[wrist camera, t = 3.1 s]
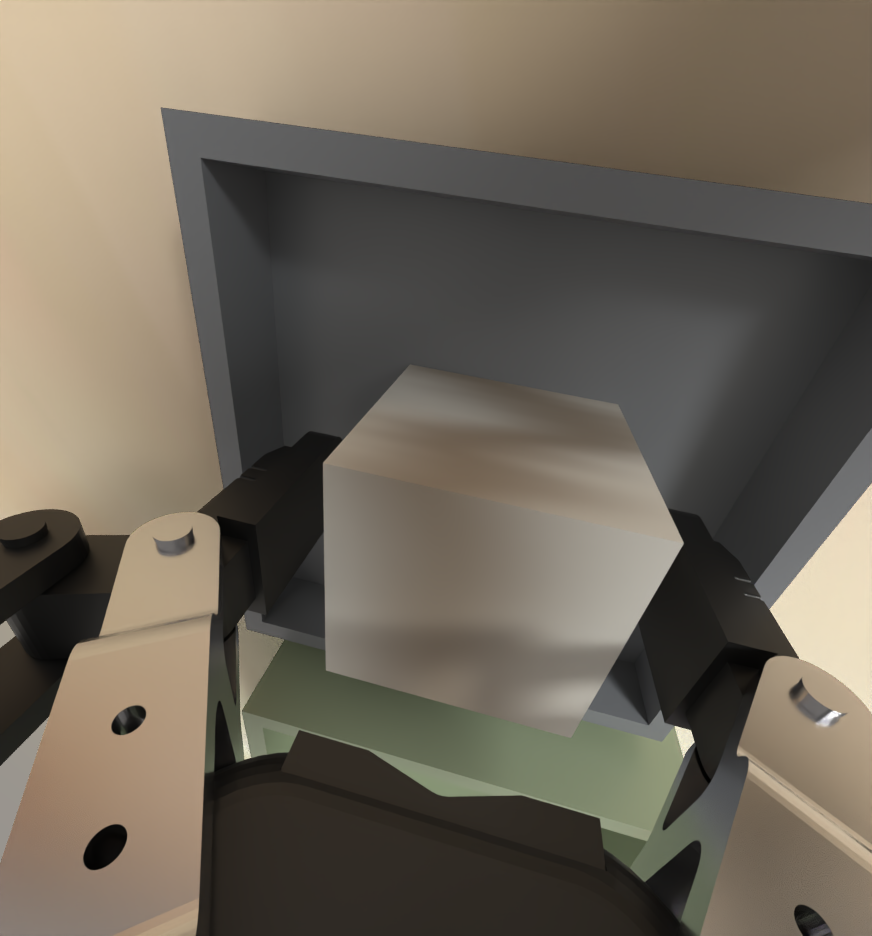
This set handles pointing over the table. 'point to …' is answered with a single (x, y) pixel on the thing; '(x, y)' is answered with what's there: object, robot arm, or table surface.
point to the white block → (489, 546)
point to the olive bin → (468, 746)
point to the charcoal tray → (536, 325)
